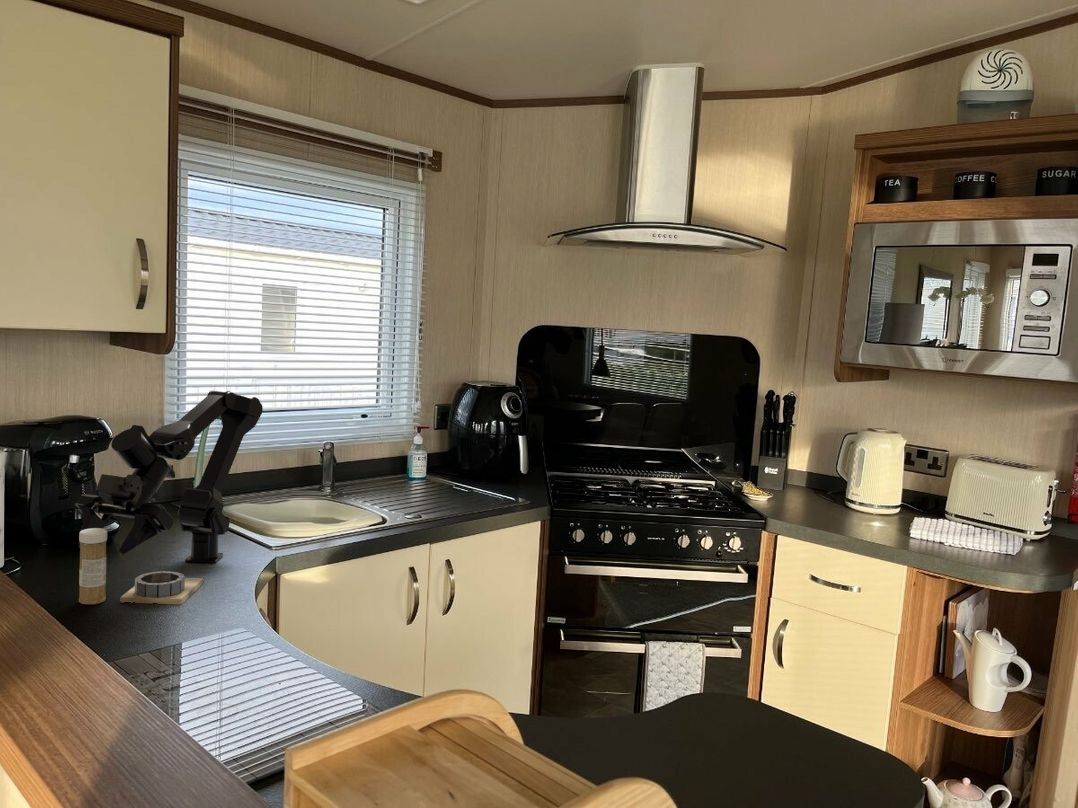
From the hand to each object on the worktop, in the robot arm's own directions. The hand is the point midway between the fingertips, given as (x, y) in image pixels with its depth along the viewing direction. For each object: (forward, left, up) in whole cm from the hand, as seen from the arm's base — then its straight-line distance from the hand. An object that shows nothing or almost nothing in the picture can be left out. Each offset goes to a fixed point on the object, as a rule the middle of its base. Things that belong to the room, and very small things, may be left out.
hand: (100, 550), depth 158 cm
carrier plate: (-5, +10, -9) cm, 14 cm away
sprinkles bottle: (+2, -1, -9) cm, 10 cm away
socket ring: (-3, +10, -9) cm, 14 cm away
